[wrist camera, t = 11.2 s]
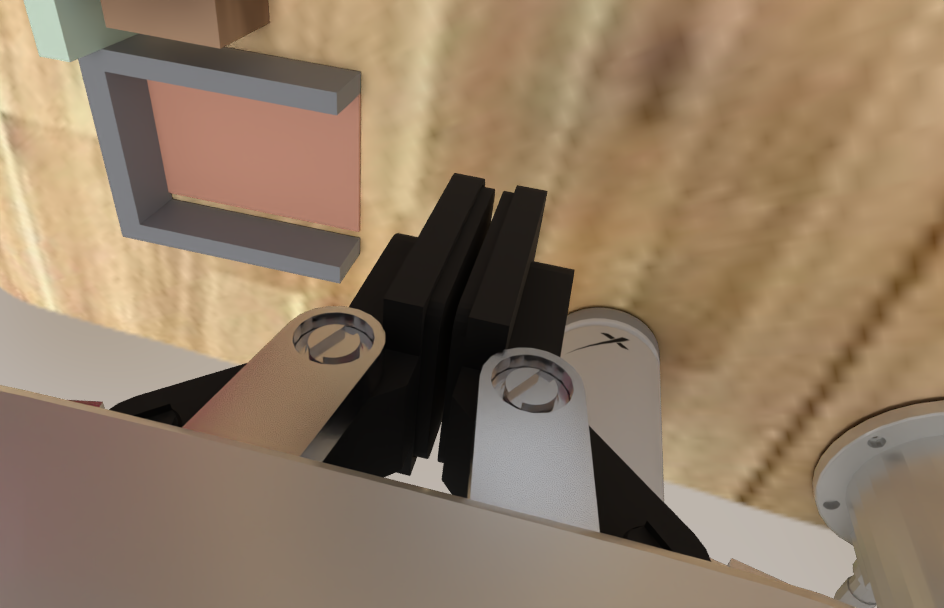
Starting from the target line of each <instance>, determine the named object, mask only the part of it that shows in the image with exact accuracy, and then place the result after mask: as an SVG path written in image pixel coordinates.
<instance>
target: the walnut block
mask: <svg viewBox="0 0 944 608" xmlns="http://www.w3.org/2000/svg"><path fill="white" fill-rule="evenodd" d="M100 1H101V6H102V11H103V15H104V20H105V25H106V27H107V28H112V29H118V30H123V31H128V32H134V33H139V34H144V35H150V36H155V37H160V38H166V39H171V40H177V41H182V42H187V43H193V44H198V45H203V46H209V47H214V48H219V49H221V48H223V47H225V46H226V45H228V44H230V43H232V42H234V41H236V40H238V39H240V38H242V37H244V36H245V35H247V34H249V33H251V32H253V31H255V30H257V29H259V28H261V27H263V26H264V25H266V24H268V23H270V19H269V5H268V0H100Z"/></svg>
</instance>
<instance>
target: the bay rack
mask: <svg viewBox="0 0 944 608" xmlns="http://www.w3.org/2000/svg"><path fill="white" fill-rule="evenodd" d="M24 4H25V7H26V11H27V14H28V18H29V21H30V25H31V28H32V32H33V35H34V39H35V42H36V46H37V49H38V53H39V56H40V57H46V58H51V59H56V60H61V61H67V62H72V61H74V60H76V59H78V60H79V64H80V68H81V72H82V76H83V80H84V84H85V88H86V92H87V96H88V100H89V104H90V108H91V112H92V116H93V120H94V124H95V128H96V132H97V136H98V140H99V144H100V148H101V152H102V156H103V160H104V164H105V168H106V172H107V176H108V180H109V184H110V188H111V192H112V196H113V199H114V203H115V207H116V211H117V215H118V219H119V223H120V227H121V231H122V235H123V237H127V238H132V239H137V240H141V241H146V242H151V243H155V244H160V245H164V246H169V247H174V248H178V249H183V250H188V251H192V252H197V253H201V254H206V255H211V256H215V257H220V258H225V259H229V260H234V261H239V262H243V263H248V264H252V265H257V266H262V267H266V268H271V269H276V270H280V271H285V272H289V273H294V274H299V275H303V276H308V277H313V278H317V279H322V280H327V281H331V282H336V283H341V281H342V280H343V278H344V277H345V275H346V274H347V272H348V271H349V269H350V268H351V266H352V265H353V263H354V262H355V260H356V259H357V257H358V256H359V254H360V238H357V237H353V236H348V235H343V234H338V233H333V232H328V231H324V230H319V229H314V228H309V227H304V226H300V225H295V224H290V223H285V222H280V221H276V220H271V219H266V218H261V217H256V216H252V215H247V214H242V213H237V212H232V211H228V210H223V209H218V208H213V207H208V206H203V205H199V204H194V203H189V202H184V201H179V200H175V199H172V195H171V193H173V194H178V195H183V196H187V197H192V198H197V199H202V200H207V201H212V202H216V203H221V204H226V205H231V206H236V207H241V208H245V209H250V210H255V211H260V212H265V213H270V214H274V215H279V216H284V217H289V218H294V219H298V220H303V221H308V222H313V223H318V224H323V225H327V226H332V227H337V228H342V229H347V230H352V231H356V232H359V231H360V120H361V72H359V71H354V70H348V69H343V68H337V67H332V66H326V65H321V64H315V63H310V62H304V61H299V60H293V59H287V58H282V57H276V56H271V55H265V54H260V53H254V52H249V51H243V50H238V49H232V48H227V47H223V48H221V49H219V48H214V47H209V46H203V45H198V44H193V43H187V42H182V41H177V40H171V39H166V38H160V37H155V36H150V35H144V34H139V33H134V32H128V31H123V30H118V29H112V28H107V27H106V25H105V20H104V15H103V11H102V6H101V1H100V0H24Z"/></svg>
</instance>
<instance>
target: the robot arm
mask: <svg viewBox="0 0 944 608" xmlns="http://www.w3.org/2000/svg"><path fill="white" fill-rule="evenodd" d="M494 196H495V189H491V188H486V187H485V179H483V178H478V177H473V176H467V175H462V174H457V173H454V174H453V176H452V178H451V179H450V181H449V183H448V185H447V187H446V188H445V190H444V192H443V194H442V195H441V197H440V199H439V201H438V203H437V204H436V206H435V208H434V210H433V212H432V213H431V215H430V217H429V219H428V220H427V222H426V224H425V226H424V228H423V229H422V231H421V233H420V235H419V236H418V237H414V236H409V235H404V234H400V233H397V234H395V235H394V236H393V237H392V239H391V240H390V242H389V243H388V245H387V247H386V248H385V250H384V251H383V253H382V255H381V256H380V258H379V259H378V261H377V263H376V264H375V266H374V267H373V269H372V271H371V272H370V274H369V275H368V277H367V279H366V280H365V282H364V283H363V285H362V287H361V288H360V290H359V291H358V293H357V295H356V296H355V298H354V299H353V301H352V303H351V304H350V306H349V307H345V306H327V307H321V308H315V309H312V310H310V311H307V312H304V313H302V314H300V315H298V316H297V317H296V318H294V319H293V320H292V321H290V322H289V323H288V324H287V325H286V326H285V327H284V328H283V329H282V330H281V331H280V332H279V333H278V334H277V335H276V336H275V337H274V338H273V339H272V340H271V341H270V342H269V343H268V344H267V345H266V346H264V347H263V348H262V349H261V350H260V351H259V352H258V353H257V354H256V355H255V356H254V357H253V358H252V359H251V360H250V361H249V362H248V363H246V364H242V365H239V366H236V367H232V368H229V369H226V370H223V371H219V372H216V373H212V374H209V375H205V376H202V377H199V378H195V379H192V380H189V381H185V382H182V383H179V384H175V385H172V386H169V387H165V388H162V389H158V390H155V391H152V392H149V393H145V394H142V395H138V396H135V397H133V398H130V399H128V400H126V401H123V402H121V403H118V404H117V405H115V406H114V407H112V408H111V409H109V410H107V409H105V408H104V405H103V402H98V401H97V402H96V401H79V400H64V399H60V398H56V397H51V396H47V395H42V394H39V393H34V392H30V391H26V390H21V389H17V388H12V387H7V386H2V385H0V608H874V607H875V606H876V605H877V608H944V400H942V401H934V402H927V403H919V404H914V405H910V406H906V407H902V408H898V409H894V410H890V411H888V412H885V413H883V414H880V415H878V416H875V417H873V418H870V419H868V420H866V421H864V422H862V423H861V424H859V425H857V426H855V427H853V428H852V429H850V430H848V431H847V432H846V433H844V434H843V435H842V436H841V437H839V438H838V439H837V440H836V441H834V442H833V443H832V444H831V445H830V447H829V448H828V449H827V450H826V451H825V453H824V454H823V455H822V456H821V458H820V460H819V462H818V464H817V466H816V468H815V471H814V477H813V482H812V486H813V492H814V498H815V501H816V505H817V508H818V511H819V514H820V516H821V517H822V519H823V520H824V522H825V523H826V525H827V526H828V527H829V528H830V529H831V530H832V531H833V532H834V533H835V534H836V535H838V536H839V537H840V538H842V539H844V540H845V541H847V542H848V543H850V544H851V545H853V546H854V549H855V553H856V557H857V559H856V561H855V562H854V564H853V572H854V575H853V576H851V577H849V578H848V579H847V580H846V581H845V582H844V583H843V585H842V586H841V587H840V588H839V589H838V591H837V592H836V594H835V596H834V599H833V598H830V597H828V596H825V595H822V594H820V593H817V592H813V591H810V590H806V589H803V588H799V587H796V586H793V585H790V584H788V583H786V582H783V581H781V580H779V579H777V578H775V577H772V576H770V575H768V574H766V573H764V572H761V571H759V570H757V569H755V568H752V567H750V566H748V565H746V564H744V563H741V562H739V561H737V560H735V559H731V560H730V562H729V563H728V565H725V564H722V563H720V562H718V561H715V560H714V559H711V558H710V557H709V555H708V553H707V551H706V549H705V547H704V546H703V545H702V543H701V542H700V541H699V539H698V538H697V537H696V536H695V534H694V533H693V532H692V531H691V530H690V529H689V528H688V527H687V526H686V525H685V524H684V523H683V522H682V521H681V520H680V519H679V518H678V516H677V515H675V513H674V512H673V511H672V510H671V509H670V508H669V507H668V506H667V505H666V504H665V503H664V502H663V501H662V500H661V499H660V498H659V497H658V496H657V495H656V494H655V493H654V492H653V491H652V490H651V489H650V488H649V487H648V486H647V485H646V484H645V482H644V481H643V480H642V479H641V478H640V477H639V476H638V475H637V474H636V473H635V472H634V471H633V470H632V469H631V468H630V467H629V466H628V465H627V464H626V463H625V462H624V461H623V460H622V459H621V458H620V457H619V456H618V455H617V454H616V453H615V452H614V451H613V450H612V449H611V447H610V446H609V445H608V444H607V443H606V442H605V441H604V440H603V439H602V438H601V437H600V436H599V435H598V434H597V433H596V432H595V431H594V430H593V429H592V428H591V427H590V426H589V423H588V414H587V404H586V395H585V388H584V385H583V382H582V378H581V376H580V375H579V374H578V373H577V371H576V370H575V369H574V367H573V366H571V365H570V364H569V363H567V362H566V361H565V360H564V359H562V358H561V357H560V356H561V350H562V344H563V338H564V332H565V326H566V320H567V314H568V308H569V301H570V295H571V289H572V283H573V277H574V270H573V269H568V268H563V267H558V266H554V265H549V264H544V263H539V262H534V258H535V253H536V248H537V243H538V238H539V232H540V227H541V222H542V217H543V212H544V207H545V202H546V196H547V191H544V190H539V189H534V188H529V187H524V186H518V185H517V187H516V189H515V192H514V193H512V192H507V191H503V194H502V196H501V199H500V201H499V204H498V206H497V209H496V211H495V214H494V216H493V219H492V221H491V218H492V211H493V204H494ZM441 422H442V425H441ZM440 425H441V434H440V443H439V451H438V462H442V463H444V466H443V474H442V481H443V482H444V484H445V485H446V487H447V488H448V490H449V491H450V492H451V494H452V495H451V494H447V493H443V492H439V491H435V490H431V489H427V488H423V487H419V486H415V485H411V484H407V483H403V482H398V481H395V480H391V479H387V478H384V477H386V476H388V475H391V474H393V473H395V472H397V473H401V474H405V475H409V476H410V475H411V472H412V469H413V466H414V464H415V461H416V458H417V457H421V458H426V459H428V458H429V456H430V453H431V451H432V448H433V445H434V442H435V439H436V436H437V433H438V431H439V427H440Z"/></svg>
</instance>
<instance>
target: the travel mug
mask: <svg viewBox="0 0 944 608" xmlns="http://www.w3.org/2000/svg"><path fill="white" fill-rule="evenodd" d="M560 357H561V358H562V359H564V360H565V361H566V362H567V363H569V364H570V365H571V366H573V367H574V369H575V370H576V371H577V373H578V374H579V375H580V376H581V378H582V382H583V385H584V388H585V395H586V404H587V414H588V423H589V426H590V427H591V428H592V429H593V430H594V431H595V432H596V433H597V434H598V435H599V436H600V437H601V438H602V439H603V440H604V441H605V442H606V443H607V444H608V445H609V446H610V447H611V449H612V450H613V451H614V452H615V453H616V454H617V455H618V456H619V457H620V458H621V459H622V460H623V461H624V462H625V463H626V464H627V465H628V466H629V467H630V468H631V469H632V470H633V471H634V472H635V473H636V474H637V475H638V476H639V477H640V478H641V479H642V480H643V481H644V482H645V484H646V485H647V486H648V487H649V488H650V489H651V490H652V491H653V492H654V493H655V494H656V495H657V496H658V497H659V498H660V499H661V500H662V501H663V502H664V483H663V451H662V420H661V388H660V356H659V347H658V343H657V340H656V338H655V336H654V334H653V333H652V332H651V330H650V329H649V328H648V327H647V326H646V325H645V324H644V323H642V322H641V321H640V320H639V319H637V318H635V317H634V316H632V315H630V314H628V313H625V312H622V311H619V310H616V309H610V308H588V309H582V310H579V311H576V312H573V313H571V314H569V315H567V320H566V326H565V332H564V338H563V344H562V350H561V356H560Z"/></svg>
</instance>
